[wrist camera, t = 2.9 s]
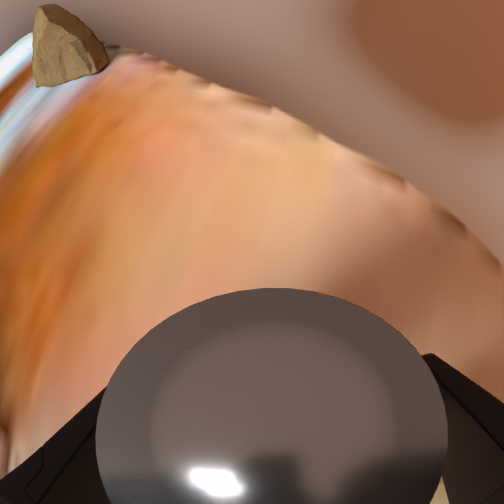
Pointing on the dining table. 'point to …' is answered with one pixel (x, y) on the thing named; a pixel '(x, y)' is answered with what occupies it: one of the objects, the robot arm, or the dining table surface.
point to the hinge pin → (272, 408)
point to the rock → (63, 47)
